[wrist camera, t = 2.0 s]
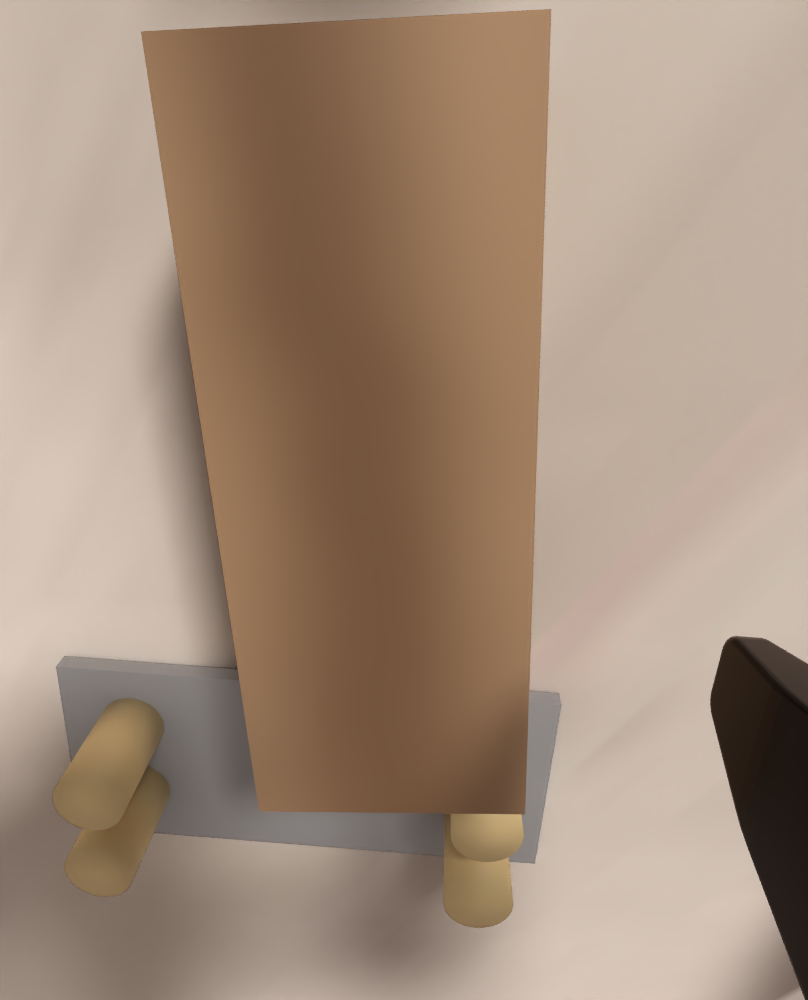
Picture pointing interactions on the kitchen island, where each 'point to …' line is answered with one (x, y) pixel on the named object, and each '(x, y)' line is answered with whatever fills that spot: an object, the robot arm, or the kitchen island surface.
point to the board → (368, 388)
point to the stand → (250, 786)
